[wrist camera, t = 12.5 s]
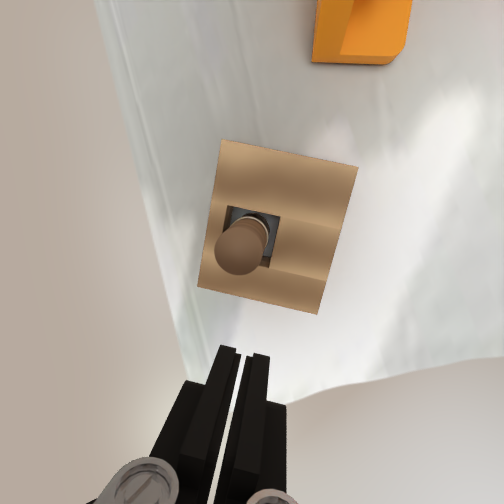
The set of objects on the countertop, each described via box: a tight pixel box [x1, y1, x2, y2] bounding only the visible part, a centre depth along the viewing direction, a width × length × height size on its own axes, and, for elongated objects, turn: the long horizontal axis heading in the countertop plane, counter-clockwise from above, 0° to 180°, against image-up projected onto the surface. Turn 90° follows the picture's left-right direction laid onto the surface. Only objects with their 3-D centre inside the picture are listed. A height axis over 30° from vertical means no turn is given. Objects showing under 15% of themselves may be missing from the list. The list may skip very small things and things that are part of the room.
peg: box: [214, 213, 270, 275], centre depth 27 cm, size 4×4×10 cm
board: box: [197, 139, 359, 315], centre depth 30 cm, size 14×12×4 cm
